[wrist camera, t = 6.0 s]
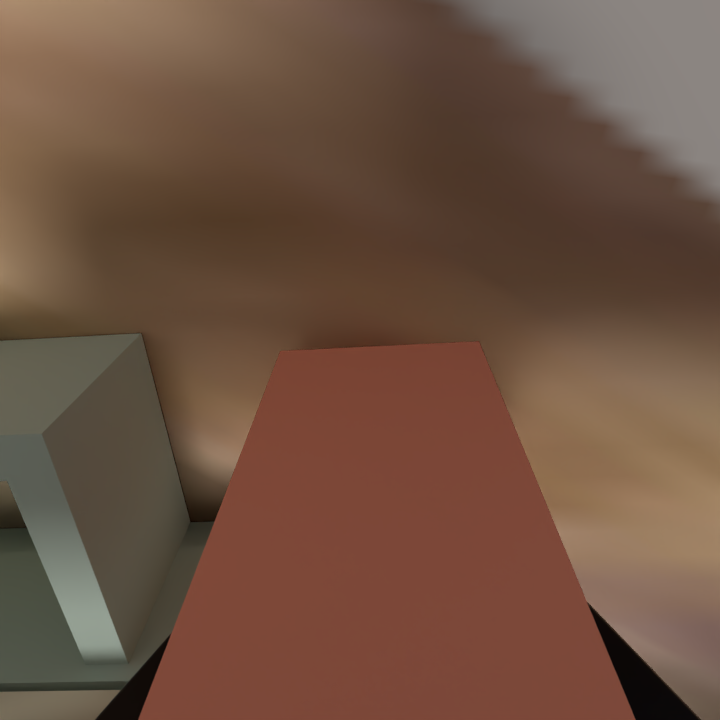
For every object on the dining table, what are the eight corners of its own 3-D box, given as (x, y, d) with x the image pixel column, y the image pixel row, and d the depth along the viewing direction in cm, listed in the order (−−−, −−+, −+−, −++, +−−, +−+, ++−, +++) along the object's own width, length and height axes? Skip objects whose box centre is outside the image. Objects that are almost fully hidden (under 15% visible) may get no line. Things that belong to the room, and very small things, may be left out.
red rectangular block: (479, 341, 12) (686, 842, 4) (474, 500, 14) (608, 1060, 6) (279, 351, 12) (91, 841, 4) (302, 505, 14) (200, 1052, 6)
